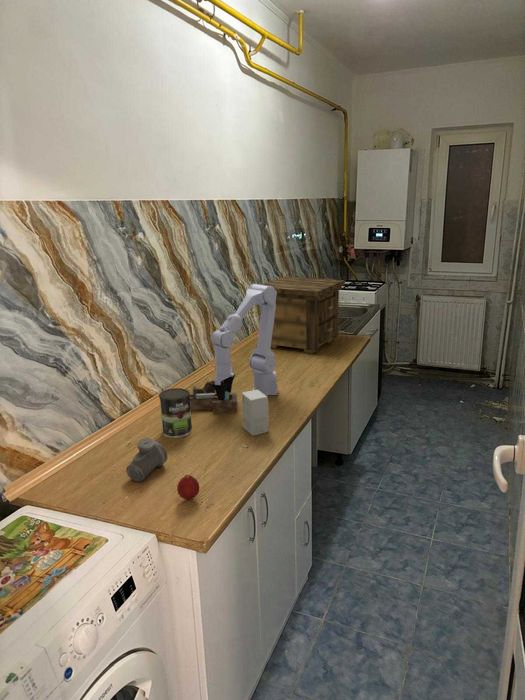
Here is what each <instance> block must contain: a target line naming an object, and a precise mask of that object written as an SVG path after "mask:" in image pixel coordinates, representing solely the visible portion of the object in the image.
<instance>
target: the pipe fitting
mask: <svg viewBox="0 0 525 700" xmlns="http://www.w3.org/2000/svg"><path fill="white" fill-rule="evenodd" d="M137 449H138V452H137V453H136V454H135V455H134V456H133V458H132V461H131V462H130V463H129V464H128V465H127V466H126V469H125V470H126V474H127V477H129V479H130V480H132V481H133V482H136V481H137V482H136V483H140V482H142V481H144V480H145V479H146V478H147V476H148V475H149V474H150V473H151V472H152V471H153V470H154V469H155V468H159V467H162V466H163V465H164V464H165V463H166V462H167V460H168V452H167V450H166V449H165V447H164V446H163V445H162V444H161V443H159V442H157V441H155V439H153V438H150V437H149V438H148V437H147V438H146V437H145V438H142V439H139V440H138V442H137Z"/></svg>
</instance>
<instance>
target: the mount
mask: <svg viewBox="0 0 525 700" xmlns="http://www.w3.org/2000/svg"><path fill="white" fill-rule="evenodd" d="M214 393H215V396H213V398H203V399H196V400H194V399H193V393H190V409H191V411H193V410H194V411H195V410H212V413H215V414H216V413H217V414H218V413H236V412H238V393H237V392H231V393H229V400H224V401H222V400H221V401H220V400H218V397H217V393H216V392H214Z"/></svg>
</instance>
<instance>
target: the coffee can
mask: <svg viewBox="0 0 525 700" xmlns="http://www.w3.org/2000/svg"><path fill="white" fill-rule="evenodd" d="M190 394H191V392H190V390H188V389H186V388H181V387H176V388H175V387H174V388H169V389H164V390H162V391H160V392H159V393H158V398H159V404H160V405H159V407H160V419H161V431H162V433H161V434H162V435H163V436H164V437H166V438H171V439H177V438H179V439H180V438H184V437H187V436H189V435H190V434H191V433H192V432H193V426H192V413H191V411H192V410H191V409H190Z"/></svg>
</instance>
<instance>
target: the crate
mask: <svg viewBox="0 0 525 700" xmlns="http://www.w3.org/2000/svg"><path fill="white" fill-rule="evenodd" d="M260 285H265V286H272V287H273V288H274V289H275V290H276V292H277V295H276V309H275V317H274V325H273V332H272V340H271V348H270V349H277V348H279V347H281V346H282V347H289V348H293V349H294V348H295V349H296V348H297V349H303V353H306V354H314V353H316V352H317V350H318V349H319V348H320V347H322V345H324V344H325V343H327V344H328V343H331V342H332V341H333V339H335V338H337V337H339V306H340V305H339V304H340V303H339V299H340V296H339V295H340V294H339V293H340V291H341V290H342V289H343V286H344V285H346V280H344V279H331V278H317V277H304V276H303V277H301V276H287V275H286V276H284V277H280V278H276V279H274V280H270V281H268V282H265V283H261V284H260ZM261 310H262V309H261V308H260V311H261Z"/></svg>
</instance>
